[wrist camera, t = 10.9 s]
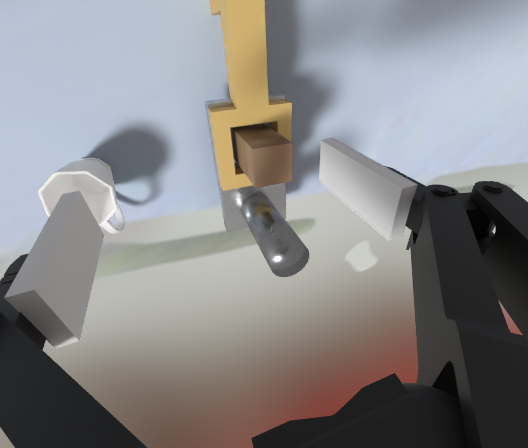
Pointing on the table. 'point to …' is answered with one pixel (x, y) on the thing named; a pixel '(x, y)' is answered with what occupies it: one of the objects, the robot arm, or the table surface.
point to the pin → (262, 154)
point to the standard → (262, 214)
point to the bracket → (244, 85)
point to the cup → (86, 190)
